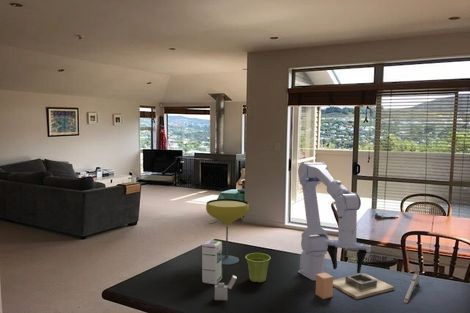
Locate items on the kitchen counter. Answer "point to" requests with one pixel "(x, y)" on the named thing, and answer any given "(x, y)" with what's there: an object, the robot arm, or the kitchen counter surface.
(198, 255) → the kitchen counter surface
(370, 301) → the kitchen counter surface
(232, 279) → the lighter
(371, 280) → the dock
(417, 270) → the caliper
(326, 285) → the orange wooden block
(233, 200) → the cocktail glass
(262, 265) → the plant pot
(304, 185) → the robot arm
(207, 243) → the syrup box
